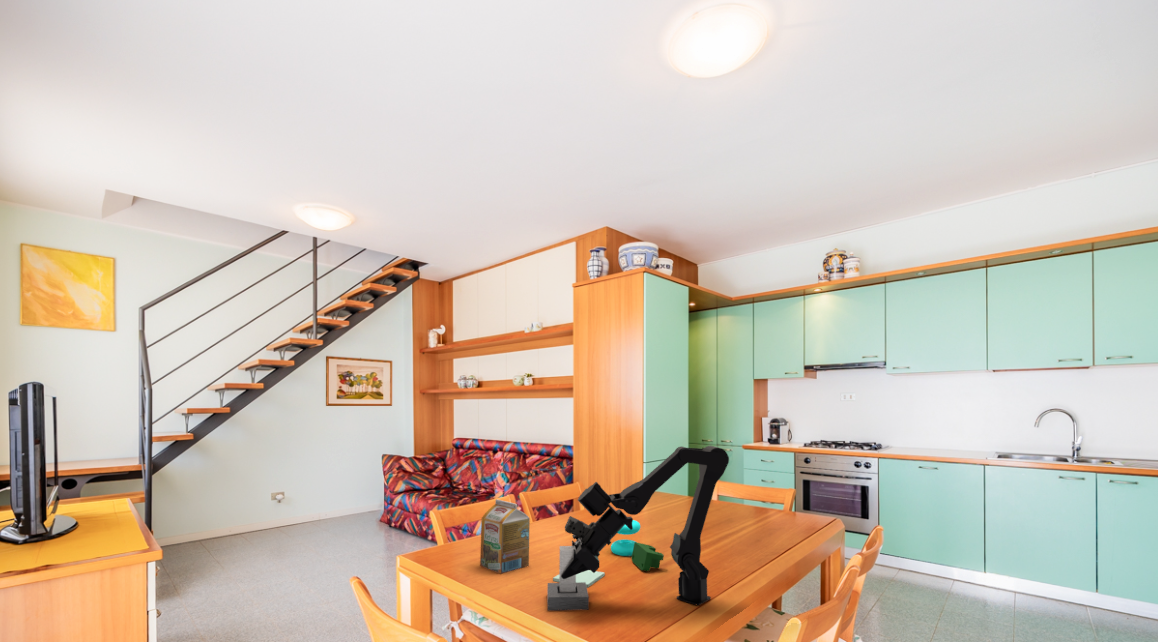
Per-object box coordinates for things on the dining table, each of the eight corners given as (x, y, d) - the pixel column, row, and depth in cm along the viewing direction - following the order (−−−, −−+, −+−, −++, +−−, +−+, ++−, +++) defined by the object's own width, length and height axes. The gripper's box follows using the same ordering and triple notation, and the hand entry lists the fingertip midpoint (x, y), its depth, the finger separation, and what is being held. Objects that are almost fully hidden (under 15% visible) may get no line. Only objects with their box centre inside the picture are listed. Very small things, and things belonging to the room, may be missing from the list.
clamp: (656, 585, 157) (666, 560, 155) (638, 581, 156) (648, 556, 154) (647, 557, 169) (656, 534, 167) (629, 554, 168) (639, 530, 166)
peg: (574, 599, 135) (575, 545, 136) (575, 605, 131) (575, 550, 133) (559, 599, 134) (559, 546, 136) (559, 605, 130) (560, 550, 132)
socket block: (585, 594, 138) (585, 582, 138) (588, 609, 128) (588, 596, 128) (547, 595, 137) (547, 583, 138) (547, 610, 127) (547, 597, 128)
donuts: (621, 526, 170) (605, 520, 178) (621, 558, 168) (605, 550, 177) (646, 523, 174) (629, 517, 183) (646, 554, 173) (629, 547, 182)
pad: (604, 575, 152) (604, 572, 153) (587, 587, 143) (587, 584, 143) (571, 569, 157) (571, 566, 158) (552, 580, 148) (553, 577, 148)
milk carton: (480, 565, 161) (482, 501, 163) (507, 558, 168) (509, 497, 171) (500, 574, 153) (502, 506, 156) (528, 566, 161) (529, 501, 163)
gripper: (580, 499, 145) (540, 541, 143) (585, 514, 127) (539, 562, 125) (609, 528, 145) (568, 571, 142) (618, 548, 126) (572, 597, 124)
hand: (562, 574), depth 133 cm, fingers closed on peg, 4 cm apart
